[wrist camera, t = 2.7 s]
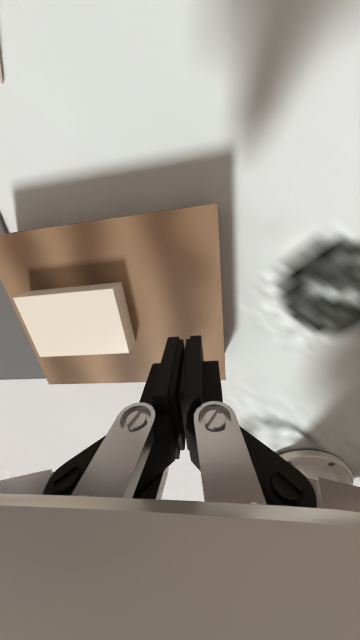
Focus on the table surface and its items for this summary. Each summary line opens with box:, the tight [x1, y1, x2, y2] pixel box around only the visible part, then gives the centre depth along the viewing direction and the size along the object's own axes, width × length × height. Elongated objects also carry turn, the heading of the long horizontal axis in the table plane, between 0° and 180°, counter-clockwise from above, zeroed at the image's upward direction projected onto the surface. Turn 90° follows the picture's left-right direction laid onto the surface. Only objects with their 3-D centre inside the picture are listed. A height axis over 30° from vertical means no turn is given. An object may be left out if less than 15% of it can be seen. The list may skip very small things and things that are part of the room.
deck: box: [0, 203, 226, 384], centre depth 22 cm, size 20×16×4 cm
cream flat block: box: [13, 282, 136, 357], centre depth 20 cm, size 9×6×2 cm, turn 97°
